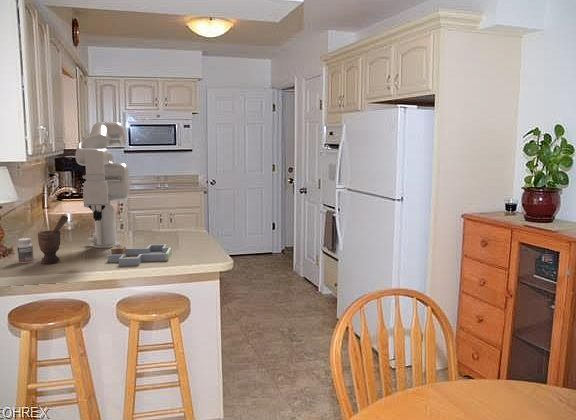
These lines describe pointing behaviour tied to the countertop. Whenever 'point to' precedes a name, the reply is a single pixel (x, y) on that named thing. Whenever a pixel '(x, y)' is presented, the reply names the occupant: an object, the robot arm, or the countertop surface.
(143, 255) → the box
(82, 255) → the countertop surface
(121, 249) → the block
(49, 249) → the mortar and pestle
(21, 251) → the pill bottle
